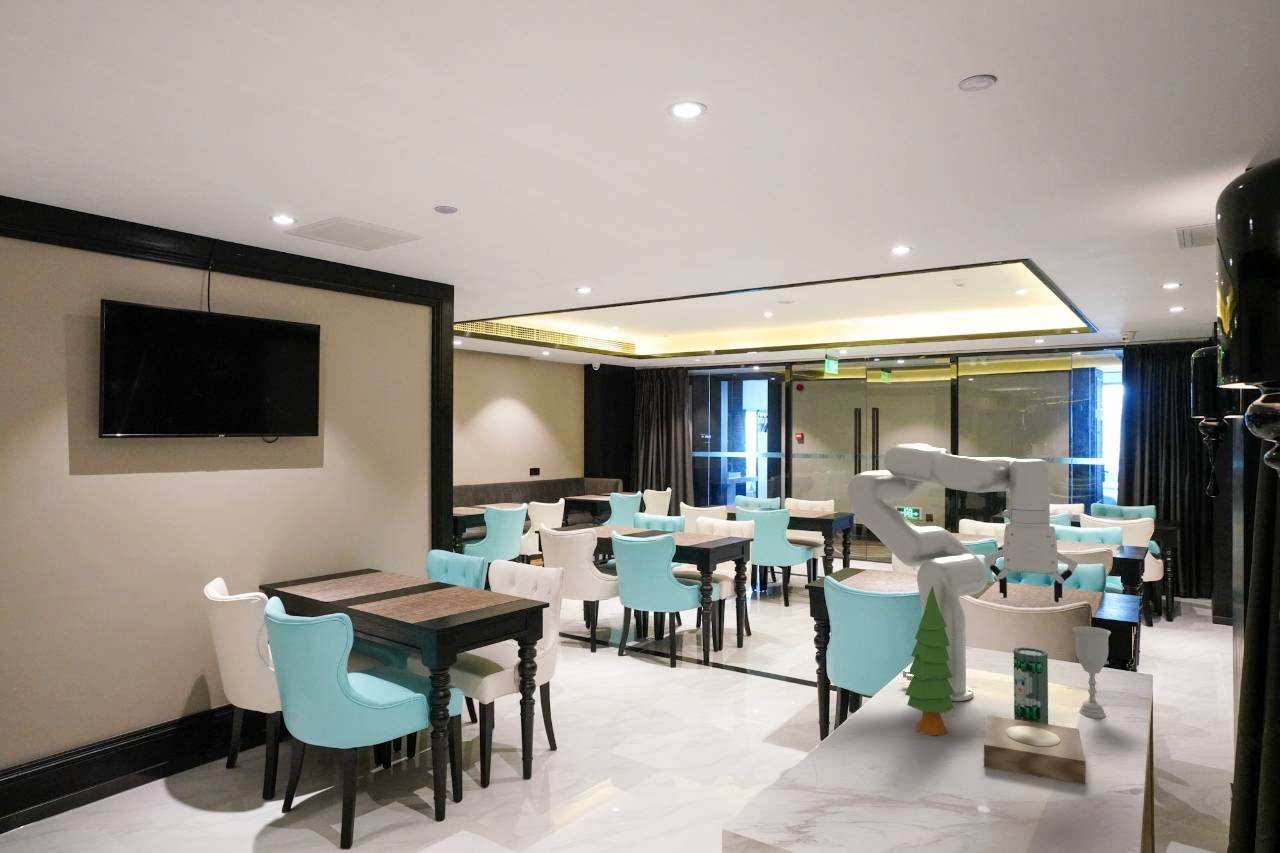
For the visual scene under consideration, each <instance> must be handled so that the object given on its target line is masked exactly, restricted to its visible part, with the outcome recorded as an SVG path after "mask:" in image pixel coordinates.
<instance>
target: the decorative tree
mask: <svg viewBox="0 0 1280 853" xmlns="http://www.w3.org/2000/svg"><path fill="white" fill-rule="evenodd" d="M945 627H947V625H946V623H945V621H944V619H943V617H942V615H941V613H940V610H939V607H938V604H937V601H936V598H935V593H934V589H933V585H932V588H931V590H930V593H929V596H928V599H927V603H926V607H925V611H924V614H923V617H922V616H921V619H920V622H919V625H918V630H917V631H916V634H915V637H914V639H915V640H916V643H915V646H914V648H913V650H912V653H911V655H910V656H911V657H913V658H914V659H913V662H912V664H911V666H910V668H909V670H910V671H909V673H910V674H912V675H913V677H912V680H911V681H910V682H909V684H908V687H907V689H906V692H905V693H904V696H908V697H909V698H908V701H907V704H906V705H907V706H909V707H911V708H913V709H916V710H919V711H921V712H922V715H921V719H920V720H919V721H918V723H917V724H916V727H917V728H915V732H917V731H918V733H919V732H921V733H920V734H922V733H924V734H923V735H925V734H930V735H929V736H932V735H937V736H936V737H939V736H938V735H940V736H942V734H943V735H945V733H946V734H949V731H948V729H947V726H946V725H945V722H944V721H943V719H942V716H941V714H945V713H947V712H949V711H952V710H953V709H955V706H954V704H953V701H951V698H950V695H953V694H955V692H954V690H953V689H952V687H951V685H950V683H949V681H948V679H947V678H952V674H951V672H950V670H949V668H948V665H947V663H946V661H949V656H948V653H947V649H946V646H950V644H949V641H948V638H947V635H946V631H945Z"/></svg>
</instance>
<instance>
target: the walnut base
mask: <svg viewBox="0 0 1280 853" xmlns="http://www.w3.org/2000/svg"><path fill="white" fill-rule="evenodd" d="M984 731H985V733H984V741H983V763H984V764H983V767H986V768H991V769H995V770H1003V771H1007V772H1013V773H1019V774H1024V775H1030V776H1036V777H1042V778H1047V779H1053V780H1059V781H1065V782H1071V783H1075V784H1081V785H1086V784H1087V782H1086V779H1087V778H1086V777H1087V776H1086V773H1087V772H1086V758H1085V752H1084V748H1083V743H1082V738H1081V733H1080V729H1079V728H1074V727H1069V726H1062V725H1055V724H1049V723H1048V724H1042V723H1035V722H1029V721H1022V720H1015V719H1014V718H1009V717H1008V718H1007V717H1000V716H994V715H988V714H987V715H986V723H985V730H984Z"/></svg>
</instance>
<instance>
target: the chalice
mask: <svg viewBox="0 0 1280 853" xmlns="http://www.w3.org/2000/svg"><path fill="white" fill-rule="evenodd" d="M1072 631H1073V632H1074V634H1075V635H1074V640H1075V642H1074V643H1075V648H1074V649H1075V650H1074V651H1075V654H1076V656H1077V659H1078V661H1079V663H1080V665H1081V667H1082V669H1083V671H1084V672H1085V673H1088V675H1089V679H1088V681H1087V683H1088V684H1089V687H1088V689H1087V692H1088V694H1089V698H1088V700H1085V701H1083V702H1082V705H1081V707H1080V709H1079V710H1078V712H1079V714H1081V715H1083V716H1086V717H1088V718H1089V717H1090V718H1095V719H1099V718H1100V719H1103V718H1106V717H1107V715H1106V714H1107V713H1106V712H1105V710H1104V707H1103V706H1102V704H1101V703H1100V702H1098V701H1097V700H1096V693H1098V691H1097V690H1096V685H1097V681H1096V678H1095V677H1096V674H1100V673H1101V671H1102V669H1103V667H1104V666H1105V664H1106V663H1107V659H1108V657H1109V637H1110V635H1111V633H1112V632H1111V631H1110V629H1109V630H1108V629H1105V628H1102V627H1094V626H1085V625H1084V626H1074V627H1072ZM1105 716H1106V717H1105Z"/></svg>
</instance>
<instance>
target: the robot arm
mask: <svg viewBox="0 0 1280 853" xmlns="http://www.w3.org/2000/svg"><path fill="white" fill-rule="evenodd" d="M883 465H884V467H885V470H884V469H883V470H867V471H862V472H860V473H857V474H855V475H853V477H851V478H850V480H849V482H848V484H847V491H846V494H847V500H848V505H849V506H850V509H851V511H852V513H853V514H854V516H855V517H856V518H857V520H858V521H860V523H862V524H863V526H865V527H866V528H867V529H869V531H871V532H872V533H873V534H874V536H876V537H877V538H878V540H880V542H881V543H882V544H883V545H884V546H885V547H886V548H887V549H888V550H889V551H890V552H891V553H892V555H894V556H895V558H897V559H898V560H899V561H900V562H901V563H902V564H903V565H906V566H908V567H911V568H913V567H914V568H915V567H916V568H917V567H919V569H918V570H917V576H916V582H917V588H918V593H919V597H920V599H919V600H920V608H921V618H922V617H923V614H924V611H925V607H926V603H927V599H928V596H929V593H930V590H931V588H932V585H933V589H934V593H935V598H936V601H937V604H938V607H939V610H940V613H941V615H942V617H943V619H944V621H945V623H946V625H947V627H945V631H946V635H947V638H948V641H949V644H950V646H946V649H947V653H948V656H949V661H946V663H947V665H948V668H949V670H950V672H951V674H952V678H947V679H948V681H949V683H950V685H951V687H952V689H953V690H954V692H955V694H953V695H950V698H951V701H952V702H963V701H968V700H971V699H972V698H973V697H974V690H973V688H972V687H970V686H968V685H967V668H966V667H967V666H966V665H967V662H966V661H967V660H966V657H967V654H966V650H967V648H966V646H967V645H966V643H967V642H966V641H967V640H966V638H967V637H966V616H965V612H964V609H963V606H962V604H961V601H960V599H959V598H961V597H966V596H970V595H975V594H978V593H980V592H981V591H984V589H985V587H986V586H987V584H988V582H989V581H988V580H989V576H988V570H987V569H986V566H985V565H984V563H983V562H982V561H981V560H980V558H979V557H978V556H977V555H976V554H974V552H972V550H970V549H969V548H968V547H967V546H966V545H965V544H963V542H962V541H961V540H959V538H957V537H956V536H955V535H953V533H951V532H950V531H949V530H947V529H945V528H943V527H941V526H935V525H929V526H917V525H915V524H914V523H912V522H911V521H910V520H909V519H908V518H906V517H905V515H904V514H903V513H902V512H900V511H899V510H898V509H896V508H894V507H892V506H890V505H889V504H890V503H898V502H902V501H904V500H906V499H907V500H908V498H910V497H911V496H912V495H913V494H914V493H916V492H917V491H918V490H919V489H920V488H921V487H923V486H924V485H925V484H926V483H929V484H935V485H938V486H940V487H943V488H948V489H951V490H958V491H964V492H971V493H980V494H981V493H982V494H983V493H991V492H995V493H996V492H997V493H998V492H1009V509H1008V510H1006V511H1005V510H1002V511H1001V512H1002V513H1001V518H1005V519H1007V520H1009V522H1007V523H1005V527H1004V533H1003V545H1002V547H1003V548H1002V549H999V550H998V551H995V552H992V553H990V554H988V555H985V557H984V561H985V562H986V564H987V566H988V567H989V569H990V571H991V572H992V573H993V574H995V576H996V577H997V578H998V580H999V581H998V582H999V583H998V584H999V587H998V588H999V594H1002V599H1006V598H1007V599H1008V578H1007V575H1008V574H1009V573H1010V572H1012V573H1028V574H1041V575H1042V574H1043V575H1051V576H1052V577H1053V578H1054V580H1055V581H1053V600H1054V603H1057V604H1058V603H1060V600H1059V599H1063V584H1064V582H1065V581H1067V580H1068V579H1069V578H1070V577H1071V576H1072V575H1073V573H1074V572H1075V570H1076V569H1077V567H1078V562H1077V561H1076V560H1074V559H1072V558H1070V557H1068V556H1066V555H1064V554H1062V553H1060V552H1058V541H1057V534H1056V529H1055V525H1054V524H1051V517H1050V516H1051V515H1050V514H1051V513H1050V511H1051V510H1050V509H1051V508H1050V507H1051V505H1050V502H1051V501H1050V465H1049V463H1048V462H1047V461H1046V460H1044V459H1040V458H1039V459H1038V458H1013V457H1007V456H1001V457H1000V456H997V457H995V456H992V457H990V456H989V457H972V456H971V457H969V456H961V455H960V456H959V455H954V454H952V452H951V451H949V450H948V449H946V448H941V447H933V446H931V445H929V444H926V443H900V444H896V445H893V446H891V447H889V449H888V450H887V451H886V452H885V453H884V455H883ZM888 503H889V504H888ZM1001 557H1002V562H1003V567H1002V568H1001V569H1000V568H999V567H998V566H997V564H996V563H995V560H997V559H999V558H1001ZM1059 561H1060V562H1062V563H1063V564H1066V565H1067V566H1066V567H1067V568H1066V569H1065V570H1064V571H1063V572H1061V573H1060V572H1059V571H1058V568H1059ZM909 671H910V669H906V668H905V669H903V670H902V678H903V679H904V678H905V679H906V680H907V681H910V682H911V680H912V677H913V675H912V674H910V673H909Z"/></svg>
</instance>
